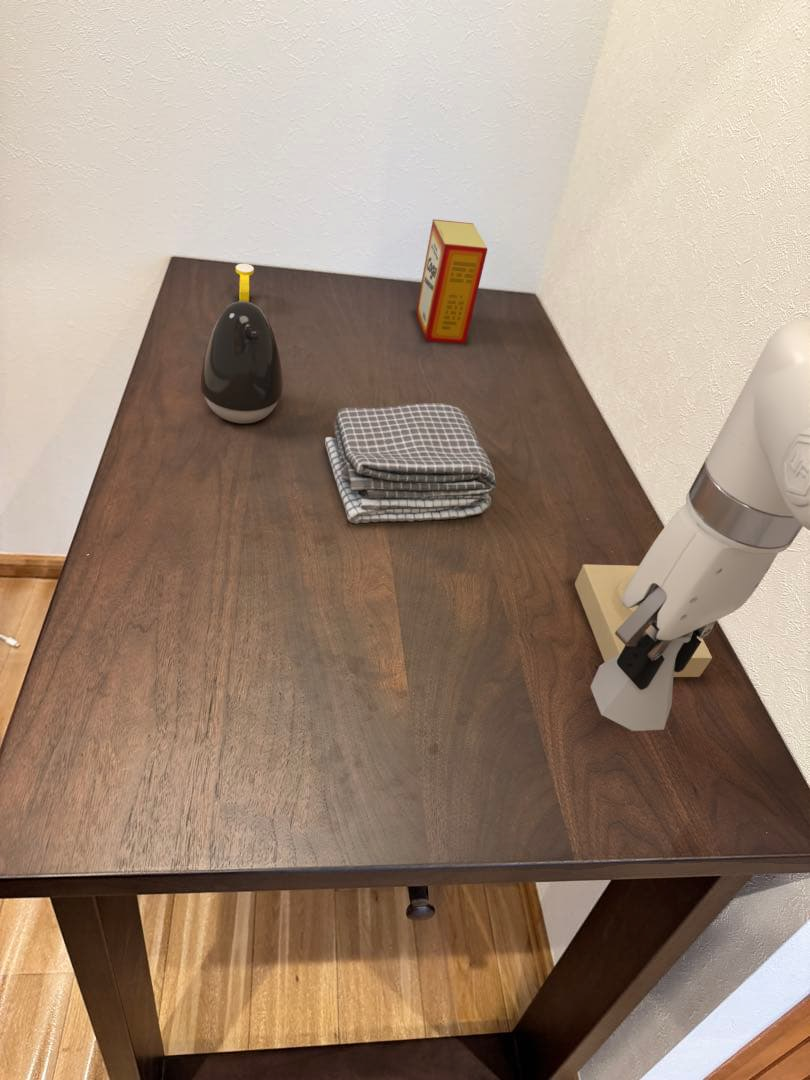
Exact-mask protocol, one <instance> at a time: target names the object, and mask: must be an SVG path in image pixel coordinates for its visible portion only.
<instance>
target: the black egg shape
mask: <svg viewBox="0 0 810 1080" xmlns="http://www.w3.org/2000/svg"><path fill="white" fill-rule="evenodd" d="M281 363H282V362H281V357H280V352H279V349H278V344H277V341H276V337H275V334H274V331H273V328H272V326H271V323H270V321H269V319H268V317H267V316H266V314H265V313H264V311H263V310H262V309H261V308H260V307H259V306H257V305H256V304H254V303H252V302H250V301H249V302H245V301H239V300H238V301H235V302H232V303H230V304H229V305H227V306H226V307H225V308H224V309H223V310H222V312H221V313H220V314H219V316H218V318H217V319H216V321H215V323H214V325H213V328H212V330H211V333H210V335H209V339H208V342H207V344H206V348H205V351H204V356H203V361H202V366H201V373H200V374H201V375H200V390H201V393H202V394H203V396H204V398H205V401H206V403H207V405H208V406H209V408H210V409H211V411H212V412H214V413H215V415H217V416H218V417H219V418H221V419H223V420H225V421H228V422H229V423H230V422H231V423H235V424H252V423H256V422H259V421H261V420H263V419H265V418H267V416H269V415H270V414H271V413H272V412H273V410H274V409H275V408H276V406H277V404H278V401H279V400H280V399H281V397H282V394H283V389H284V388H283V386H284V384H283V383H284V381H283V370H282V364H281Z"/></svg>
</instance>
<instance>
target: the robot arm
mask: <svg viewBox="0 0 810 1080" xmlns="http://www.w3.org/2000/svg"><path fill="white" fill-rule="evenodd" d="M803 528H805V529H807V530H808V531H810V317H803V318H796V319H793V320H789V321H788V322H786V323H784V324H782V325H781V326H780V327H778V329H776V330H775V331H774V332H773V333H772V334H771V336H770V337H769V339H768V340H767V342H766V343H765V345H764V347H763V349H762V351H761V353H760V355H759V357H758V359H757V361H756V363H755V365H754V366H753V369H752V370H751V372H750V374H749V376H748V378H747V380H746V382H745V384H744V386H743V387H742V389H741V391H740V392H739V395H738V397H737V399H736V400H735V402H734V404H733V406H732V408H731V410H730V411H729V413H728V416H727V418H726V420H725V421H724V423H723V425H722V427H721V429H720V431H719V433H718V434H717V437H716V439H715V440H714V442H713V444H712V446H711V448H710V450H709V452H708V453H707V456H706V457H705V460H704V461H703V463H702V465H701V467H700V469H699V471H698V473H697V475H696V477H695V479H694V481H693V483H692V484H691V486H690V487H689V490H688V492H687V493H686V498H685V505H683V506H681V507H680V508H678V510H677V511H676V512H675V514H674V515H673V516H672V517H671V518H670V520H669V521H668V522H667V524H666V525H665V526H664V527H663V528H662V530H661V532H659V534H658V536H657V537H656V538H655V540H654V541H653V542H652V544H651V546H650V547H649V549H648V550H647V552H646V554H645V555H644V557H643V559H642V560H641V562H640V563H639V565H638V566H639V567H638V569H637V570H636V572H635V574H634V575H633V577H632V579H631V581H630V582H629V584H628V586H627V588H626V590H625V592H624V594H623V596H622V604H623V605H625V606H626V608H627V609H629V608H632V607H634V606H636V605H639V604H640V605H639V607H638V608H637V609H636V610H635V611H634V612H633V613H632V614H631V615H630V616H629V617H628V618H627V620H626V621H625V622H624V623H623V624H622V625H621V626H620V627H619V628H618V629H617V631H616V632H615V635H616V636H617V637H618V638H619V639H620V640H621V641H622V642H623V643H624V644H625V647H624V649H623V650H622V652H621V654H620V656H619V658H618V660H617V664H618V666H619V667H620V668H621V669H622V671H623V672H624V673H625V674H626V675H627V676H628V677H629V678H630V679H631V680H632V682H633V683H634V684H635V685H636V686H637V687H638V688H639V689H640V690H643V689H645V688H647V687H648V686H649V684H650V683H651V681H652V679H653V678H654V676H655V674H656V673H657V671H658V670H659V668H660V666H661V665H662V663H663V661H664V660H665V659H664V657H663V656H662V654H663V652H664V651H665V650H666V648H667V647H668V645H669V644H670V643H671V641H672V640H673V639H675V638H678V637H680V636H683V635H685V634H687V633H690V632H692V631H693V633H692V636H691V639H690V641H689V642H687V643H683V644H682V646H681V648H680V650H679V651H678V653H677V656H676V659H675V667H674V671H675V672H680V671H682V670H684V668H685V667H686V665H687V664H688V662H689V660H690V659H691V657H692V656H693V654H694V653H695V651H696V650H697V648H698V647H699V645H700V643H701V641H700V640H699V639H698V638H697V636H698V637H699V638H700V639H704V638H705V637H707V636H708V635H709V634H710V632H711V631H712V629H713V627H714V626H715V624H716V622H717V621H718V620H720V619H722V618H724V617H726V616H729V615H730V614H733V613H734V612H736V611H737V610H739V609H740V608H741V607H742V606H744V605H745V604H746V603H747V601H748V600H749V599H750V597H752V595H753V594H754V592H755V591H756V590H757V588H758V587H759V585H760V584H761V582H762V581H763V579H764V578H765V576H766V574H767V573H768V571H769V569H770V568H771V567H772V565H773V563H774V561H775V560H776V557H777V556H778V554H780V553H782V552H784V551H786V550H787V549H788V548H789V547H791V545H792V543H793V542H794V540H795V539H796V537H797V536H798V534H799V533H800V531H802V529H803ZM650 625H652V626H653V627H654V628H655V629H656V630H657V631H658V632H656V634H657V636H656V638H657V641H656V642H655V641H654V640H653V639H652V638H651V637H650V636H649V635H648V634H647V633H646V632H645V631H646V630H647V629H648V628H649V627H650Z"/></svg>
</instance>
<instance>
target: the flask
mask: <svg viewBox="0 0 810 1080" xmlns="http://www.w3.org/2000/svg"><path fill="white" fill-rule="evenodd" d="M656 632H658V631H657V630H656V629H655V628H654V627H652V629H651V630H650V631H649V632H648V633H647V634H648V635H649V636H650V637H651V638H652V639H653V640H654V641H655V642H656V641H657V638H656V636H657V634H656ZM692 633H693V631H692V632H690V633H687V634H685V635H683V636H680V637H678V638H675V639H673V640H672V641H671V643H670V644H669V645H668V647H667V648H666V650H665V651H664V652H663V654H662V656H663V657H664V659H665V660H664V661H663V663H662V665H661V666H660V668H659V670H658V671H657V673H656V674H655V676H654V678H653V679H652V681H651V683H650V684H649V686H648V687H647V688H645V689H643V690H640V689H639V688H638V687H637V686H636V685H635V684H634V683H633V682H632V680H631V679H630V678H629V677H628V676H627V675H626V674H625V673H624V672H623V671H622V669H621V668H620V667H619V666H618V664H617V660H618V658H619V656H620V654H621V653H620V654H618V655H617V656H615V657H613V658H611V659H610V660H608V661H606V662H603V663H602V664H600V665H599V667H598V668H597V670H596V673H595V675H594V678H593V680H592V682H591V684H590V690H591V693H592V695H593V697H594V700H595V703H596V705H597V708H598V710H599V713H600V715H601V716H602V717H604V718H606V719H609V720H610V721H613V722H615V723H616V724H618V725H620V726H622V727H624V728H626V729H628V730H630V731H632V732H639V731H641V732H642V731H660V730H661V731H663V730H665V728H666V724H667V721H668V717H669V715H670V711H671V710H672V709H671V708H672V704H673V692H674V691H673V689H674V678H675V677H674V667H675V659H676V656H677V653H678V651H679V650H680V648H681V646H682V644H683V643H687V642H689V641H690V639H691V636H692Z"/></svg>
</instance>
